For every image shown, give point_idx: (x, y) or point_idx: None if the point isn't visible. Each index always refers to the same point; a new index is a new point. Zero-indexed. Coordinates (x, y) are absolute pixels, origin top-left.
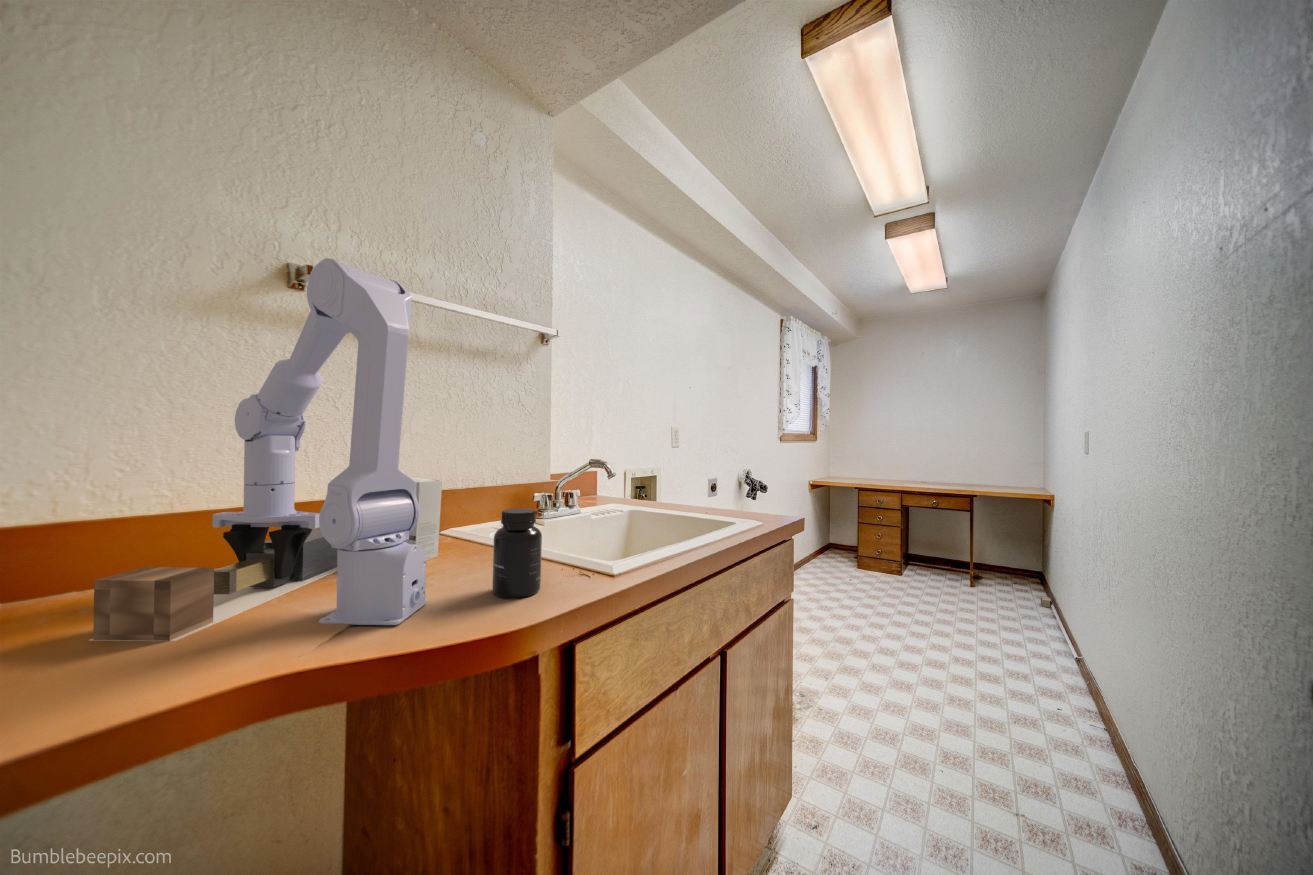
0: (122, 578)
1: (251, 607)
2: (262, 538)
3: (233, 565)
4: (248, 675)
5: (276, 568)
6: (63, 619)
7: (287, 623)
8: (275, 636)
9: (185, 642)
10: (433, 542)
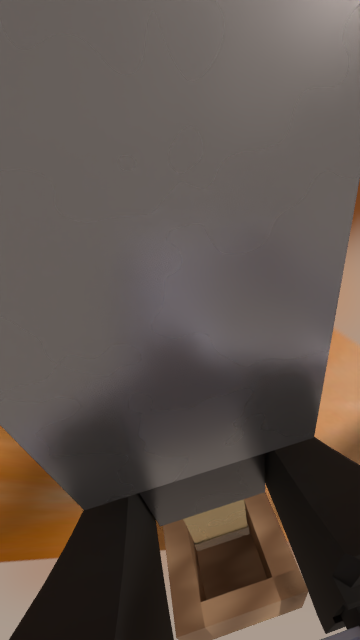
0: (221, 634)
1: None
2: (134, 553)
3: (201, 524)
4: None
5: None
6: (7, 541)
7: (348, 436)
8: (356, 454)
9: (268, 491)
10: None
